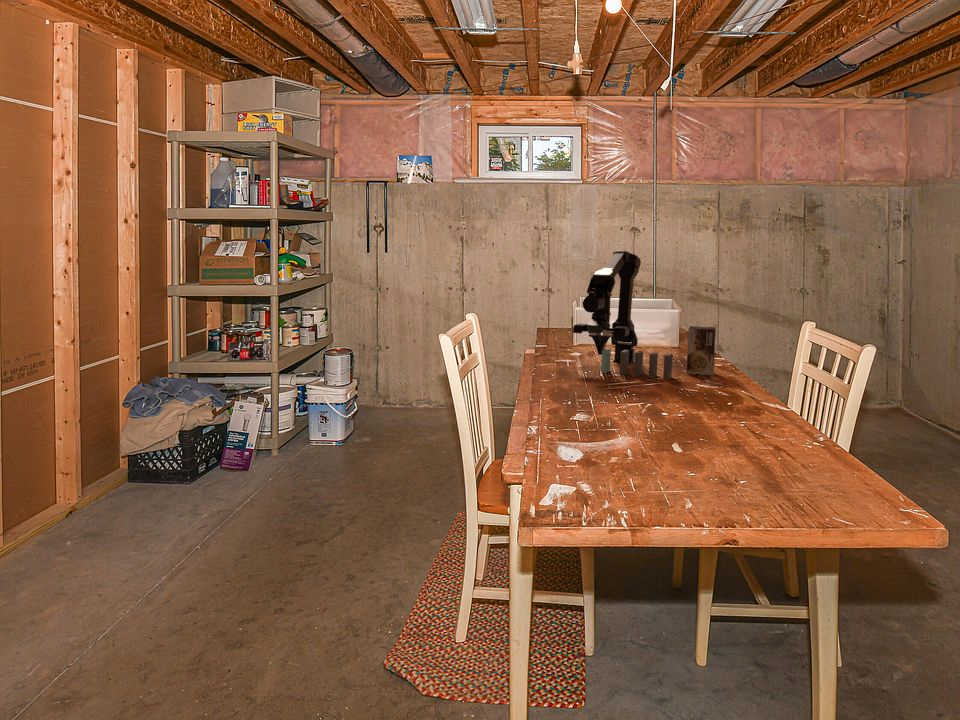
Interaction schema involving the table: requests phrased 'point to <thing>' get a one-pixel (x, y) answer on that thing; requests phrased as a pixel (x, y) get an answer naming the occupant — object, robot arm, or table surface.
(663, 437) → the table surface
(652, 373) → the black domino
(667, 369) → the black domino
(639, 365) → the black domino
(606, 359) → the teal domino
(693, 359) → the coffee box
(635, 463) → the table surface
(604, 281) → the robot arm
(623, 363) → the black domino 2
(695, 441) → the table surface
